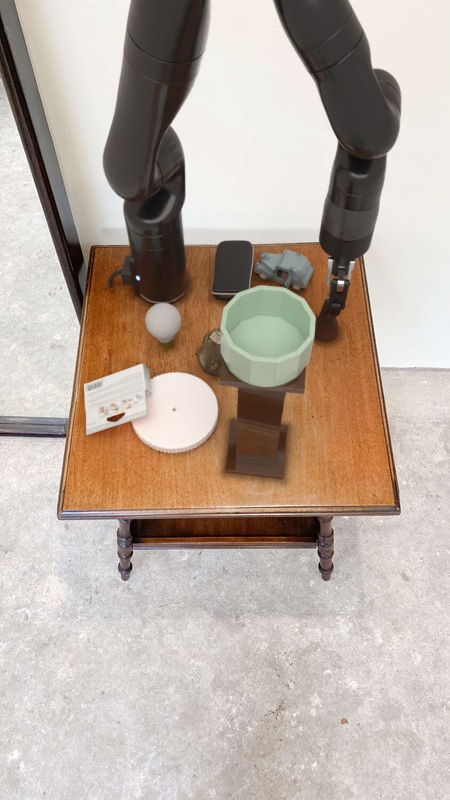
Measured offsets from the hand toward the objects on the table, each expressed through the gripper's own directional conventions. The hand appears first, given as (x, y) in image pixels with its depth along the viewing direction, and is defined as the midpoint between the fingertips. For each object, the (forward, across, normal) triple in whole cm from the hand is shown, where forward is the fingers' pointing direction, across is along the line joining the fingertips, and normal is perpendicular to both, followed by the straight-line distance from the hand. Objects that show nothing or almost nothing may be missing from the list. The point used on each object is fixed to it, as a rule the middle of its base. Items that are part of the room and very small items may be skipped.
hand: (333, 293), depth 105 cm
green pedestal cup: (+11, +24, -10) cm, 28 cm away
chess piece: (+11, 0, 0) cm, 11 cm away
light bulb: (+11, +6, -27) cm, 30 cm away
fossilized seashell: (+11, +7, -17) cm, 22 cm away
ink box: (+7, +15, -34) cm, 38 cm away
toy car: (+11, -10, -9) cm, 17 cm away
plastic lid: (+10, +20, -23) cm, 33 cm away
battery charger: (+9, -4, -17) cm, 20 cm away
